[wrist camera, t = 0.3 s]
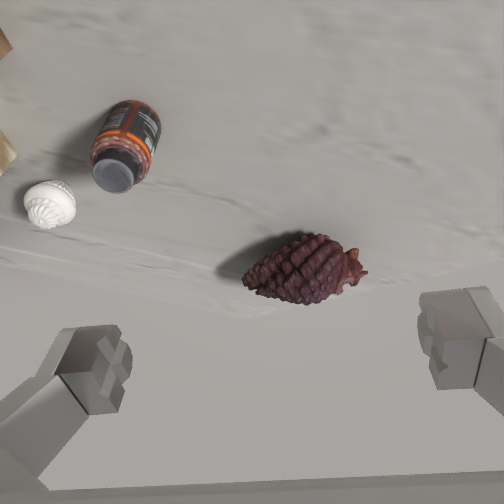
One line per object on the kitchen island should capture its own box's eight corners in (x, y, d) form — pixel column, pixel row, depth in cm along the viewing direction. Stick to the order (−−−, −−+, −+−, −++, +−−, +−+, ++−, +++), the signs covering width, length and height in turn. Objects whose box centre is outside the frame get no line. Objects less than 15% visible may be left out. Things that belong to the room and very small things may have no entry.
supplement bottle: (101, 125, 48) (69, 178, 40) (127, 87, 45) (98, 136, 37) (145, 155, 51) (123, 211, 43) (172, 121, 48) (155, 174, 40)
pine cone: (248, 276, 66) (247, 327, 58) (235, 229, 59) (232, 280, 52) (361, 262, 63) (374, 313, 56) (360, 211, 57) (376, 262, 49)
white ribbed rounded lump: (85, 177, 53) (67, 210, 48) (82, 213, 57) (66, 247, 52) (34, 164, 52) (10, 196, 47) (35, 201, 56) (13, 235, 51)
